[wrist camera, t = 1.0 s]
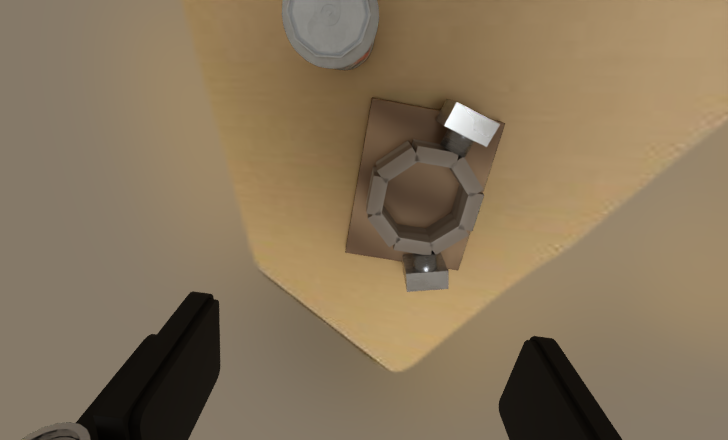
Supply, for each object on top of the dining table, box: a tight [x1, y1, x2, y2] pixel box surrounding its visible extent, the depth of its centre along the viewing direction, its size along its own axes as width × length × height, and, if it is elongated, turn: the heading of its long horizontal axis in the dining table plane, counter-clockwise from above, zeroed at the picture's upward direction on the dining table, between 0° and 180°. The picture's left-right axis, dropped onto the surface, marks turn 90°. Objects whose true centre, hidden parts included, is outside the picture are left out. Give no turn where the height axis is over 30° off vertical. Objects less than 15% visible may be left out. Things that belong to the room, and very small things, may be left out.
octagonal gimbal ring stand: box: [345, 98, 505, 270], centre depth 30 cm, size 14×11×4 cm
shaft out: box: [402, 250, 448, 292], centre depth 32 cm, size 3×4×4 cm
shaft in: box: [436, 99, 500, 158], centre depth 27 cm, size 3×4×4 cm
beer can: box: [282, 0, 379, 70], centre depth 22 cm, size 5×5×12 cm
